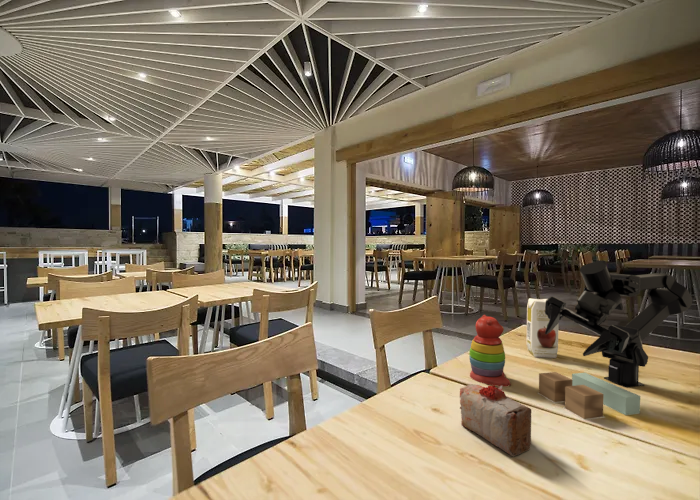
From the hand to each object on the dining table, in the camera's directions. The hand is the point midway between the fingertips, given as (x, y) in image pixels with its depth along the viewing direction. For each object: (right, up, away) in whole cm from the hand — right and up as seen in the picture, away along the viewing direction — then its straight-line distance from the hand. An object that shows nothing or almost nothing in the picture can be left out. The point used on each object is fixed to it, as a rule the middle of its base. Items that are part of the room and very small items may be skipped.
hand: (563, 343), depth 85 cm
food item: (-24, -14, -16) cm, 33 cm away
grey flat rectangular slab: (+2, -14, -3) cm, 14 cm away
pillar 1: (-2, -13, 0) cm, 13 cm away
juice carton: (+13, -13, +33) cm, 38 cm away
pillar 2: (-1, -13, -8) cm, 15 cm away
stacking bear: (-14, -14, +12) cm, 23 cm away
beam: (+8, -13, -2) cm, 16 cm away
